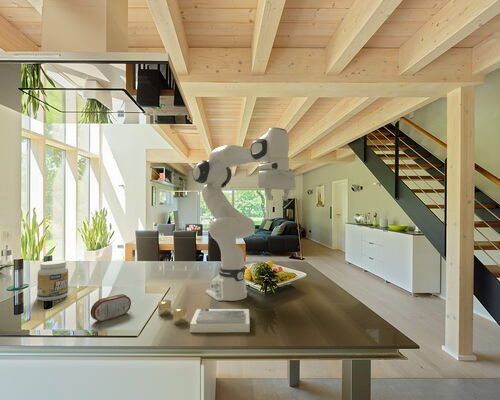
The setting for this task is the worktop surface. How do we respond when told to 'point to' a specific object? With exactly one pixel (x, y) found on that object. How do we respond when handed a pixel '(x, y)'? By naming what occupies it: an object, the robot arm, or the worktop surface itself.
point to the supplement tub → (52, 280)
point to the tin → (110, 307)
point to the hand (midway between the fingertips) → (277, 200)
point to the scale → (220, 320)
